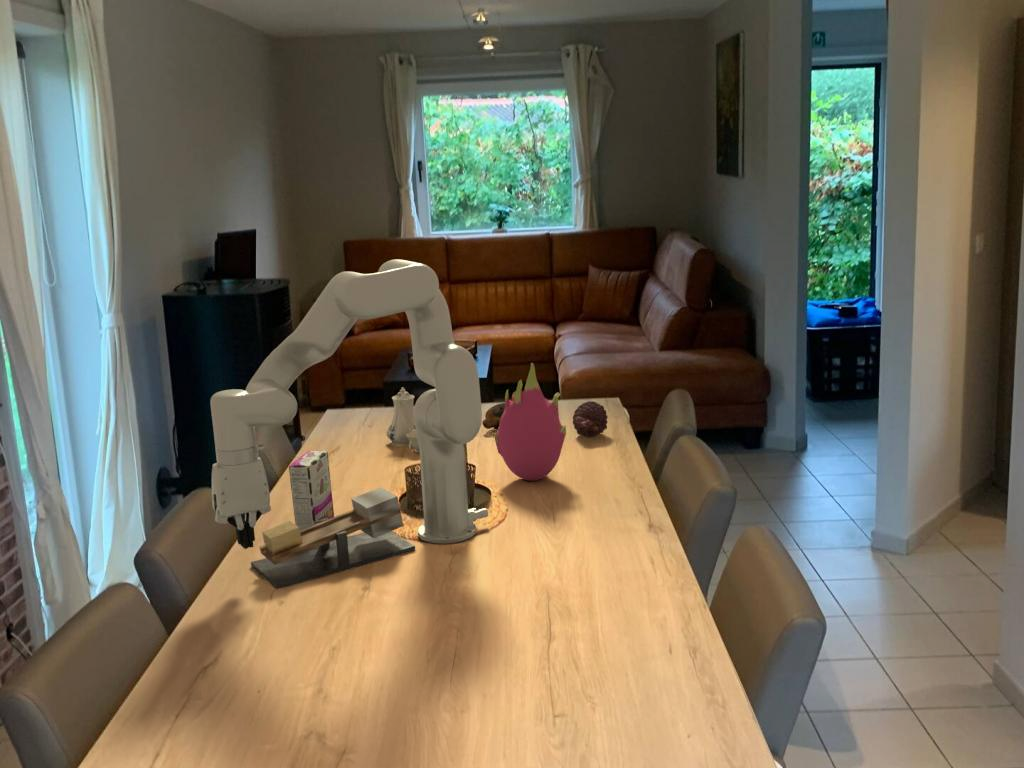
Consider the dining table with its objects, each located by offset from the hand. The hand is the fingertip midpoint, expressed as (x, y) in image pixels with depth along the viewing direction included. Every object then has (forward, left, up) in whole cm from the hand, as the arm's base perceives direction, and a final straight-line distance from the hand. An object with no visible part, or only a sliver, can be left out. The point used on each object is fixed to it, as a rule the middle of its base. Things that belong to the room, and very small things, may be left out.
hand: (246, 545), depth 195 cm
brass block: (-7, 0, -2) cm, 8 cm away
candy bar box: (-22, -19, -8) cm, 30 cm away
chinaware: (-72, -64, -8) cm, 97 cm away
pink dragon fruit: (-78, -15, -8) cm, 79 cm away
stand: (-18, 0, -7) cm, 19 cm away
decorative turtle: (-99, -59, -8) cm, 115 cm away
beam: (-18, 0, -5) cm, 19 cm away
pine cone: (-113, -36, -8) cm, 119 cm away
